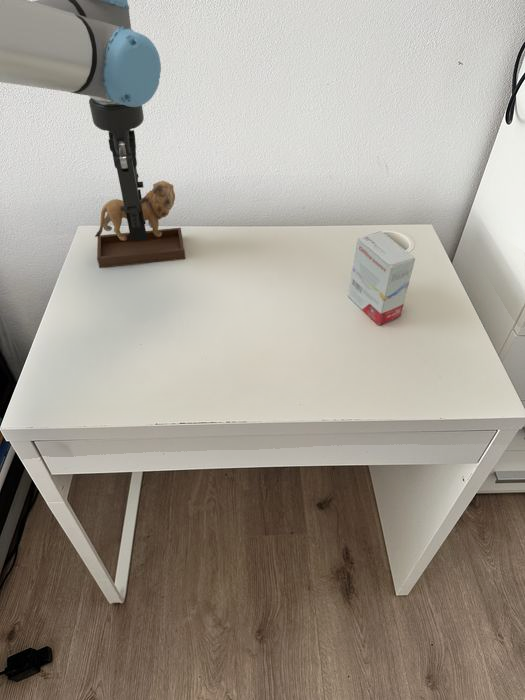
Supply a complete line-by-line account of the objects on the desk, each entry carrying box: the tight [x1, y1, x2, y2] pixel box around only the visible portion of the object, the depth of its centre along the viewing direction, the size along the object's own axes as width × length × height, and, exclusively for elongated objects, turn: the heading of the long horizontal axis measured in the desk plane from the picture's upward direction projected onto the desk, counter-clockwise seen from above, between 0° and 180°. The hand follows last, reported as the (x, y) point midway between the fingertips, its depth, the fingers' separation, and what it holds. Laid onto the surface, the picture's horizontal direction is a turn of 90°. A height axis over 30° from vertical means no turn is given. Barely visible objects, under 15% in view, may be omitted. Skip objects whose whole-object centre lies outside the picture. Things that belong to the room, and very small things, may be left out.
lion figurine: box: [94, 180, 176, 241], centre depth 92 cm, size 15×5×9 cm, turn 110°
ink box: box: [347, 230, 416, 326], centre depth 84 cm, size 9×5×12 cm, turn 29°
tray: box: [96, 227, 186, 269], centre depth 97 cm, size 15×7×2 cm, turn 101°
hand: (138, 231), depth 95 cm, fingers closed on lion figurine, 4 cm apart
